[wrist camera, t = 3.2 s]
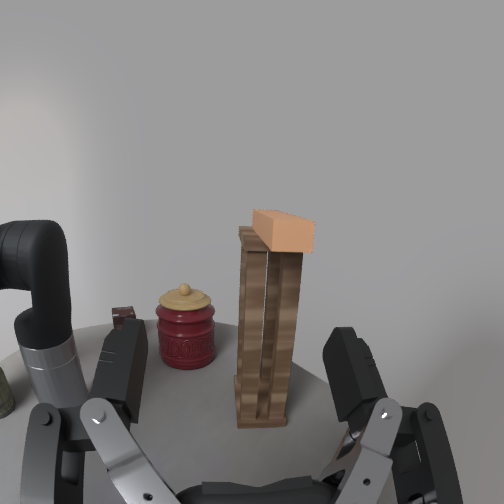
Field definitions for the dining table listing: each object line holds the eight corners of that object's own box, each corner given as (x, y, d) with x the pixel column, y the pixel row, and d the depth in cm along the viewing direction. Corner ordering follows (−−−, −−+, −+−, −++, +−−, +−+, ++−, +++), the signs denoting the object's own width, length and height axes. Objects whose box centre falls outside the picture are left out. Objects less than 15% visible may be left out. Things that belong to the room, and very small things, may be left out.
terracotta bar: (312, 252, 28) (314, 221, 27) (271, 251, 27) (273, 219, 27) (276, 228, 47) (277, 210, 47) (252, 227, 47) (252, 209, 46)
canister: (175, 377, 54) (169, 298, 50) (151, 350, 63) (145, 280, 60) (226, 360, 62) (227, 287, 59) (197, 338, 72) (195, 272, 68)
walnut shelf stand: (285, 426, 41) (309, 240, 36) (237, 428, 41) (244, 238, 35) (273, 380, 55) (285, 228, 49) (234, 381, 54) (239, 226, 49)
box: (135, 330, 72) (133, 305, 71) (138, 340, 67) (135, 314, 66) (114, 332, 69) (111, 307, 68) (116, 342, 64) (112, 316, 63)
